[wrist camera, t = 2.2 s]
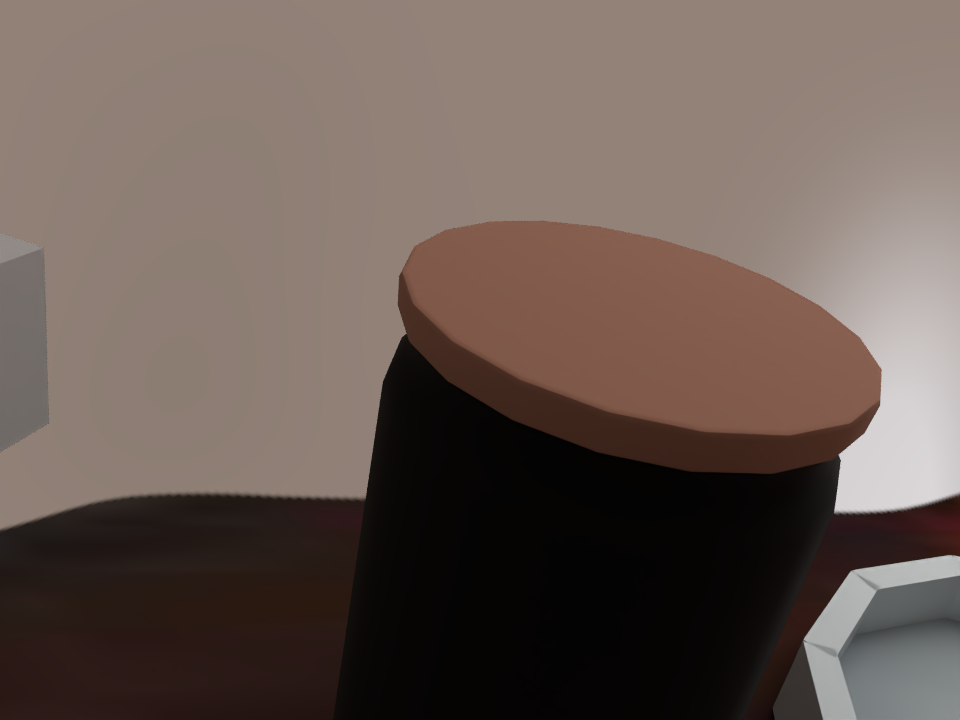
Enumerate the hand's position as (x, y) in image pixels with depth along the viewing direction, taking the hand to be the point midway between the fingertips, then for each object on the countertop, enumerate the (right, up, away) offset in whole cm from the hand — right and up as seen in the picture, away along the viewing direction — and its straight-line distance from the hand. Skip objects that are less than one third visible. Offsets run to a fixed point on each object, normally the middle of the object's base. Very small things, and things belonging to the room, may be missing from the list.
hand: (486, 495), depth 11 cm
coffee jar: (0, -13, +17) cm, 21 cm away
